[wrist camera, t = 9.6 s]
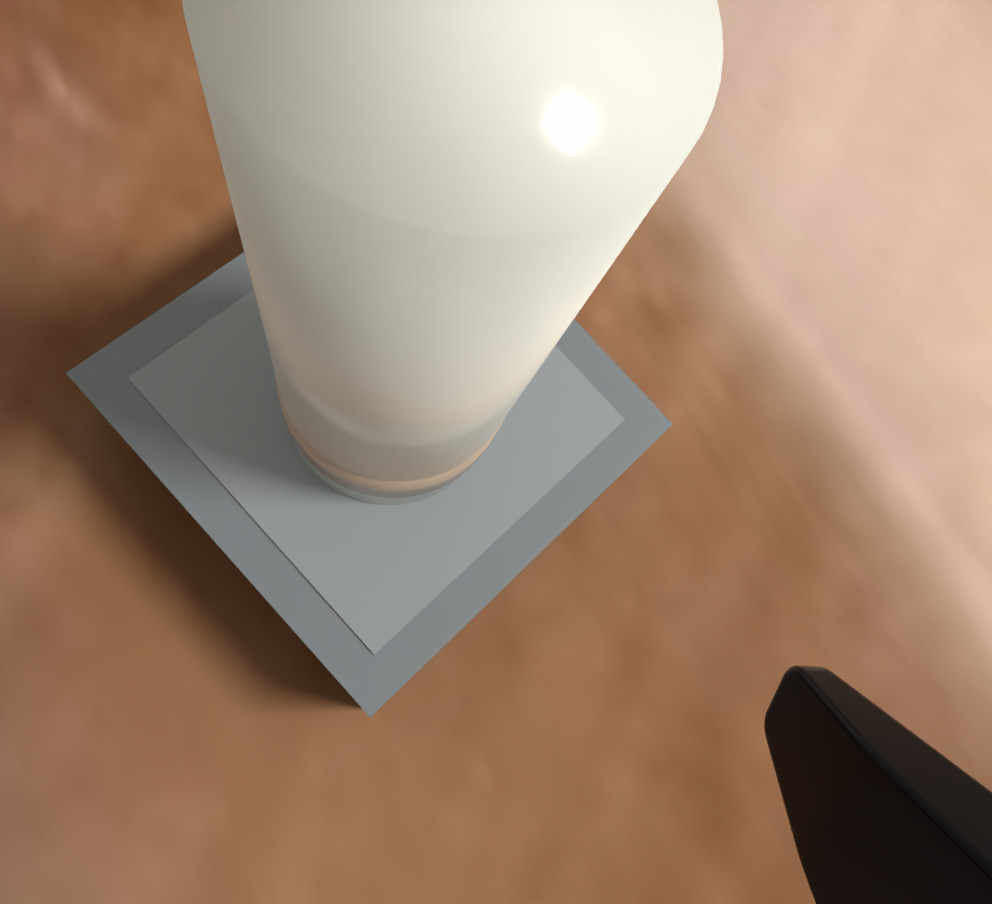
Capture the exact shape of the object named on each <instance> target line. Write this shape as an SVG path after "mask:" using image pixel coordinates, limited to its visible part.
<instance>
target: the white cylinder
mask: <svg viewBox="0 0 992 904" xmlns="http://www.w3.org/2000/svg"><path fill="white" fill-rule="evenodd" d="M182 4H183V10H184V16H185V20H186V24H187V28H188V32H189V36H190V40H191V44H192V48H193V52H194V55H195V59H196V63H197V67H198V71H199V75H200V79H201V83H202V87H203V91H204V95H205V99H206V103H207V107H208V111H209V115H210V119H211V123H212V127H213V131H214V135H215V139H216V143H217V147H218V150H219V154H220V158H221V162H222V166H223V170H224V174H225V178H226V182H227V186H228V190H229V194H230V198H231V202H232V206H233V210H234V214H235V218H236V222H237V226H238V230H239V234H240V238H241V242H242V245H243V249H244V253H245V257H246V261H247V265H248V269H249V273H250V277H251V281H252V285H253V289H254V293H255V297H256V301H257V305H258V309H259V313H260V317H261V321H262V325H263V329H264V333H265V337H266V340H267V344H268V348H269V352H270V356H271V360H272V364H273V368H274V372H275V383H276V389H277V394H278V398H279V401H280V405H281V409H282V413H283V416H284V419H285V423H286V426H287V429H288V431H289V433H290V435H291V437H292V440H293V442H294V444H295V447H296V449H297V451H298V453H299V454H300V456H301V457H302V459H303V460H304V462H305V463H306V465H307V466H308V467H309V468H310V469H311V470H312V471H313V473H314V474H315V475H316V476H318V477H319V478H320V479H321V480H322V481H323V482H324V483H326V484H327V485H329V486H330V487H332V488H333V489H335V490H336V491H338V492H340V493H342V494H344V495H346V496H348V497H351V498H354V499H357V500H360V501H363V502H368V503H373V504H381V505H401V504H408V503H413V502H418V501H421V500H424V499H427V498H430V497H432V496H434V495H436V494H438V493H440V492H442V491H444V490H445V489H447V488H448V487H450V486H451V485H453V484H454V483H455V482H456V481H457V480H459V479H460V478H461V477H462V476H463V475H464V474H465V473H466V471H467V470H468V469H469V468H471V466H472V465H473V464H474V463H475V462H476V461H477V460H478V459H479V457H480V456H481V455H482V453H483V452H484V451H485V449H486V448H487V446H488V445H489V443H490V442H491V441H492V439H493V438H494V436H495V435H496V433H497V432H498V430H499V429H500V427H501V425H502V423H503V421H504V419H505V417H506V415H507V414H508V412H509V411H510V410H511V408H512V407H513V405H514V404H515V402H516V401H517V399H518V398H519V397H520V395H521V394H522V392H523V391H524V389H525V388H526V387H527V385H528V384H529V382H530V381H531V379H532V378H533V377H534V375H535V374H536V372H537V371H538V369H539V368H540V367H541V365H542V364H543V362H544V361H545V359H546V358H547V356H548V355H549V354H550V352H551V351H552V349H553V348H554V346H555V345H556V344H557V342H558V341H559V339H560V338H561V336H562V335H563V334H564V332H565V331H566V329H567V328H568V326H569V325H570V324H571V322H572V321H573V319H574V318H575V316H576V315H577V313H578V312H579V311H580V309H581V308H582V306H583V305H584V303H585V302H586V301H587V299H588V298H589V296H590V295H591V293H592V292H593V291H594V289H595V288H596V286H597V285H598V283H599V282H600V280H601V279H602V278H603V276H604V275H605V273H606V272H607V270H608V269H609V268H610V266H611V265H612V263H613V262H614V260H615V259H616V258H617V256H618V255H619V253H620V252H621V250H622V249H623V248H624V246H625V245H626V243H627V242H628V240H629V239H630V237H631V236H632V235H633V233H634V232H635V230H636V229H637V227H638V226H639V225H640V223H641V222H642V220H643V219H644V217H645V216H646V215H647V213H648V212H649V210H650V209H651V207H652V206H653V204H654V203H655V202H656V200H657V199H658V197H659V196H660V194H661V193H662V192H663V190H664V189H665V187H666V186H667V184H668V183H669V182H670V180H671V179H672V177H673V176H674V174H675V173H676V172H677V170H678V169H679V167H680V166H681V164H682V163H683V161H684V160H685V159H686V157H687V156H688V154H689V153H690V151H691V150H692V148H693V147H694V145H695V144H696V142H697V141H698V139H699V138H700V136H701V135H702V133H703V130H704V128H705V126H706V124H707V121H708V119H709V117H710V115H711V112H712V110H713V108H714V104H715V100H716V96H717V93H718V89H719V85H720V81H721V71H722V61H723V39H722V24H721V19H720V14H719V8H718V3H717V0H182Z"/></svg>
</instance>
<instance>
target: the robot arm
mask: <svg viewBox="0 0 992 904" xmlns="http://www.w3.org/2000/svg"><path fill="white" fill-rule="evenodd" d="M764 727H765V735H766V739H767V743H768V746H769V750H770V754H771V757H772V761H773V764H774V768H775V772H776V775H777V779H778V783H779V786H780V790H781V794H782V797H783V801H784V805H785V808H786V812H787V815H788V819H789V823H790V826H791V830H792V834H793V837H794V841H795V844H796V847H797V851H798V854H799V857H800V860H801V864H802V866H803V869H804V872H805V875H806V878H807V881H808V883H809V886H810V889H811V891H812V894H813V897H814V899H815V902H816V904H992V792H991V791H990V790H989V789H987V788H986V787H985V786H983V785H982V784H981V783H979V782H978V781H977V780H975V779H974V778H973V777H971V776H970V775H969V774H967V773H966V772H965V771H963V770H962V769H961V768H959V767H958V766H957V765H955V764H954V763H953V762H951V761H950V760H949V759H947V758H946V757H945V756H943V755H942V754H941V753H939V752H938V751H937V750H935V749H934V748H933V747H931V746H930V745H929V744H927V743H926V742H925V741H923V740H922V739H921V738H919V737H918V736H917V735H915V734H914V733H913V732H911V731H910V730H909V729H907V728H906V727H905V726H903V725H902V724H901V723H899V722H898V721H897V720H895V719H894V718H893V717H891V716H890V715H889V714H887V713H886V712H885V711H883V710H882V709H881V708H879V707H878V706H877V705H875V704H874V703H873V702H871V701H870V700H869V699H867V698H866V697H865V696H863V695H862V694H861V693H859V692H858V691H857V690H855V689H854V688H853V687H851V686H850V685H849V684H847V683H846V682H845V681H843V680H842V679H841V678H839V677H838V676H837V675H835V674H834V673H833V672H831V671H830V670H828V669H826V668H823V667H814V666H793V667H791V668H790V669H788V670H787V671H786V672H785V674H784V676H783V678H782V680H781V682H780V685H779V687H778V689H777V691H776V693H775V695H774V697H773V699H772V701H771V704H770V706H769V708H768V710H767V712H766V716H765V725H764Z"/></svg>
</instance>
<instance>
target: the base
mask: <svg viewBox="0 0 992 904" xmlns="http://www.w3.org/2000/svg"><path fill="white" fill-rule="evenodd" d="M66 374H67V375H68V376H69V378H70V379H71V380H72V381H73V382H74V383H75V384H76V386H77V387H78V388H79V389H80V390H81V391H82V392H83V393H84V395H85V396H86V397H87V398H88V399H89V400H90V401H91V402H92V404H93V405H94V406H95V407H96V408H97V409H98V410H99V412H100V413H101V414H102V415H103V416H104V417H105V418H106V419H107V421H108V422H109V423H110V424H111V425H112V426H113V427H114V428H115V430H116V431H117V432H118V433H119V434H120V435H121V436H122V438H123V439H124V440H125V441H126V442H127V443H128V444H129V445H130V447H131V448H132V449H133V450H134V451H135V452H136V453H137V454H138V456H139V457H140V458H141V459H142V460H143V461H144V462H145V464H146V465H147V466H148V467H149V468H150V469H151V470H152V471H153V473H154V474H155V475H156V476H157V477H158V478H159V479H160V480H161V482H162V483H163V484H164V485H165V486H166V487H167V488H168V490H169V491H170V492H171V493H172V494H173V495H174V496H175V497H176V499H177V500H178V501H179V502H180V503H181V504H182V505H183V506H184V508H185V509H186V510H187V511H188V512H189V513H190V514H191V516H192V517H193V518H194V519H195V520H196V521H197V522H198V523H199V525H200V526H201V527H202V528H203V529H204V530H205V531H206V532H207V534H208V535H209V536H210V537H211V538H212V539H213V540H214V542H215V543H216V544H217V545H218V546H219V547H220V548H221V549H222V551H223V552H224V553H225V554H226V555H227V556H228V557H229V558H230V560H231V561H232V562H233V563H234V564H235V565H236V566H237V568H238V569H239V570H240V571H241V572H242V573H243V574H244V575H245V577H246V578H247V579H248V580H249V581H250V582H251V583H252V584H253V586H254V587H255V588H256V589H257V590H258V591H259V592H260V594H261V595H262V596H263V597H264V598H265V599H266V600H267V601H268V603H269V604H270V605H271V606H272V607H273V608H274V609H275V610H276V612H277V613H278V614H279V615H280V616H281V617H282V618H283V620H284V621H285V622H286V623H287V624H288V625H289V626H290V627H291V629H292V630H293V631H294V632H295V633H296V634H297V635H298V636H299V638H300V639H301V640H302V641H303V642H304V643H305V644H306V646H307V647H308V648H309V649H310V650H311V651H312V652H313V653H314V655H315V656H316V657H317V658H318V659H319V660H320V661H321V662H322V664H323V665H324V666H325V667H326V668H327V669H328V670H329V672H330V673H331V674H332V675H333V676H334V677H335V678H336V679H337V681H338V682H339V683H340V684H341V685H342V686H343V687H344V688H345V690H346V691H347V692H348V693H349V694H350V695H351V696H352V698H353V699H354V700H355V701H356V702H357V703H358V704H359V705H360V707H361V708H362V709H363V710H364V711H365V712H366V713H367V714H368V716H369V717H371V716H372V715H373V714H374V713H375V712H376V711H377V710H379V709H380V708H381V707H382V706H383V705H384V704H385V703H386V702H387V701H388V700H389V699H390V698H391V697H392V696H393V695H394V694H395V693H396V692H397V691H398V690H399V689H400V688H401V687H402V686H403V685H404V684H405V683H406V682H407V681H408V680H409V679H410V678H412V677H413V676H414V675H415V674H416V673H417V672H418V671H419V670H420V669H421V668H422V667H423V666H424V665H425V664H426V663H427V662H428V661H429V660H430V659H431V658H432V657H433V656H434V655H435V654H436V653H437V652H438V651H439V650H440V649H441V648H442V647H444V646H445V645H446V644H447V643H448V642H449V641H450V640H451V639H452V638H453V637H454V636H455V635H456V634H457V633H458V632H459V631H460V630H461V629H462V628H463V627H464V626H465V625H466V624H467V623H468V622H469V621H470V620H471V619H472V618H473V617H474V616H475V615H477V614H478V613H479V612H480V611H481V610H482V609H483V608H484V607H485V606H486V605H487V604H488V603H489V602H490V601H491V600H492V599H493V598H494V597H495V596H496V595H497V594H498V593H499V592H500V591H501V590H502V589H503V588H504V587H505V586H506V585H507V584H509V583H510V582H511V581H512V580H513V579H514V578H515V577H516V576H517V575H518V574H519V573H520V572H521V571H522V570H523V569H524V568H525V567H526V566H527V565H528V564H529V563H530V562H531V561H532V560H533V559H534V558H535V557H536V556H537V555H538V554H539V553H540V552H542V551H543V550H544V549H545V548H546V547H547V546H548V545H549V544H550V543H551V542H552V541H553V540H554V539H555V538H556V537H557V536H558V535H559V534H560V533H561V532H562V531H563V530H564V529H565V528H566V527H567V526H568V525H569V524H570V523H571V522H572V521H574V520H575V519H576V518H577V517H578V516H579V515H580V514H581V513H582V512H583V511H584V510H585V509H586V508H587V507H588V506H589V505H590V504H591V503H592V502H593V501H594V500H595V499H596V498H597V497H598V496H599V495H600V494H601V493H602V492H603V491H604V490H605V489H607V488H608V487H609V486H610V485H611V484H612V483H613V482H614V481H615V480H616V479H617V478H618V477H619V476H620V475H621V474H622V473H623V472H624V471H625V470H626V469H627V468H628V467H629V466H630V465H631V464H632V463H633V462H634V461H635V460H636V459H637V458H639V457H640V456H641V455H642V454H643V453H644V452H645V451H646V450H647V449H648V448H649V447H650V446H651V445H652V444H653V443H654V442H655V441H656V440H657V439H658V438H659V437H660V436H661V435H662V434H663V433H664V432H665V431H666V430H667V429H668V428H669V427H670V426H672V425H673V424H672V423H671V422H670V421H669V420H668V419H667V417H666V416H665V415H664V414H663V413H662V412H661V411H660V410H659V409H658V408H657V407H656V406H655V405H654V404H653V403H652V401H651V400H650V399H649V398H648V397H647V396H646V395H645V394H644V393H643V392H642V391H641V390H640V389H639V388H638V387H637V386H636V384H635V383H634V382H633V381H632V380H631V379H630V378H629V377H628V376H627V375H626V374H625V373H624V372H623V371H622V370H621V369H620V367H619V366H618V365H617V364H616V363H615V362H614V361H613V360H612V359H611V358H610V357H609V356H608V355H607V354H606V353H605V351H604V350H603V349H602V348H601V347H600V346H599V345H598V344H597V343H596V342H595V341H594V340H593V339H592V338H591V337H590V336H589V334H588V333H587V332H586V331H585V330H584V329H583V328H582V327H581V326H580V325H579V324H578V323H577V322H576V321H575V320H574V319H573V321H572V322H571V324H570V325H569V326H568V328H567V329H566V331H565V332H564V334H563V335H562V336H561V338H560V339H559V341H558V342H557V344H556V345H555V346H554V348H553V349H552V351H551V352H550V354H549V355H548V356H547V358H546V359H545V361H544V362H543V364H542V365H541V367H540V368H539V369H538V371H537V372H536V374H535V375H534V377H533V378H532V379H531V381H530V382H529V384H528V385H527V387H526V388H525V389H524V391H523V392H522V394H521V395H520V397H519V398H518V399H517V401H516V402H515V404H514V405H513V407H512V408H511V410H510V411H509V412H508V414H507V415H506V417H505V419H504V421H503V423H502V425H501V427H500V429H499V430H498V432H497V433H496V435H495V436H494V438H493V439H492V441H491V442H490V443H489V445H488V446H487V448H486V449H485V451H484V452H483V453H482V455H481V456H480V457H479V459H478V460H477V461H476V462H475V463H474V464H473V465H472V466H471V468H469V469H468V470H467V471H466V473H465V474H464V475H463V476H462V477H461V478H460V479H459V480H457V481H456V482H455V483H454V484H453V485H451V486H450V487H448V488H447V489H445V490H444V491H442V492H440V493H438V494H436V495H434V496H432V497H430V498H427V499H424V500H421V501H418V502H413V503H408V504H401V505H381V504H373V503H368V502H363V501H360V500H357V499H354V498H351V497H348V496H346V495H344V494H342V493H340V492H338V491H336V490H335V489H333V488H332V487H330V486H329V485H327V484H326V483H324V482H323V481H322V480H321V479H320V478H319V477H318V476H316V475H315V474H314V473H313V471H312V470H311V469H310V468H309V467H308V466H307V465H306V463H305V462H304V460H303V459H302V457H301V456H300V454H299V453H298V451H297V449H296V447H295V444H294V442H293V440H292V437H291V435H290V433H289V431H288V429H287V426H286V423H285V419H284V416H283V413H282V409H281V405H280V401H279V398H278V394H277V389H276V383H275V372H274V368H273V364H272V360H271V356H270V352H269V348H268V344H267V340H266V337H265V333H264V329H263V325H262V321H261V317H260V313H259V309H258V305H257V301H256V297H255V293H254V289H253V285H252V281H251V277H250V273H249V269H248V265H247V261H246V257H245V253H244V252H243V253H242V254H240V255H239V256H237V257H236V258H234V259H233V260H232V261H230V262H229V263H227V264H226V265H224V266H223V267H221V268H220V269H218V270H217V271H215V272H214V273H212V274H211V275H209V276H208V277H206V278H205V279H204V280H202V281H201V282H199V283H198V284H196V285H195V286H193V287H192V288H190V289H189V290H187V291H186V292H184V293H183V294H181V295H180V296H178V297H177V298H176V299H174V300H173V301H171V302H170V303H168V304H167V305H165V306H164V307H162V308H161V309H159V310H158V311H156V312H155V313H153V314H152V315H150V316H149V317H147V318H146V319H145V320H143V321H142V322H140V323H139V324H137V325H136V326H134V327H133V328H131V329H130V330H128V331H127V332H125V333H124V334H122V335H121V336H119V337H118V338H117V339H115V340H114V341H112V342H111V343H109V344H108V345H106V346H105V347H103V348H102V349H100V350H99V351H97V352H96V353H94V354H93V355H91V356H90V357H89V358H87V359H86V360H84V361H83V362H81V363H80V364H78V365H77V366H75V367H74V368H72V369H71V370H69V371H68V372H66Z"/></svg>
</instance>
